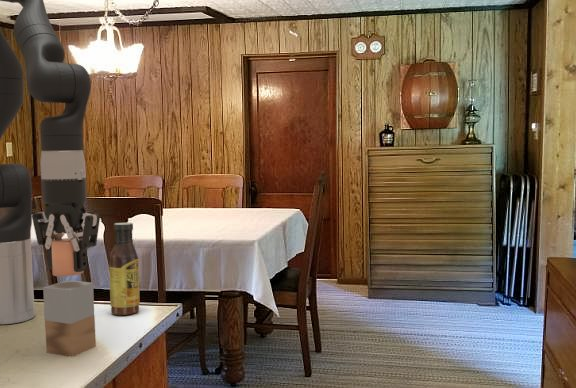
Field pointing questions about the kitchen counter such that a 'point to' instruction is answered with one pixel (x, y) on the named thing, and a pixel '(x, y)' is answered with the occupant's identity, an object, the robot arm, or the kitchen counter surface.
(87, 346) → the walnut block
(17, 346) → the kitchen counter surface
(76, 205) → the robot arm
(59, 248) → the clay cylinder
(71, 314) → the slate block
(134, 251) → the sauce bottle
